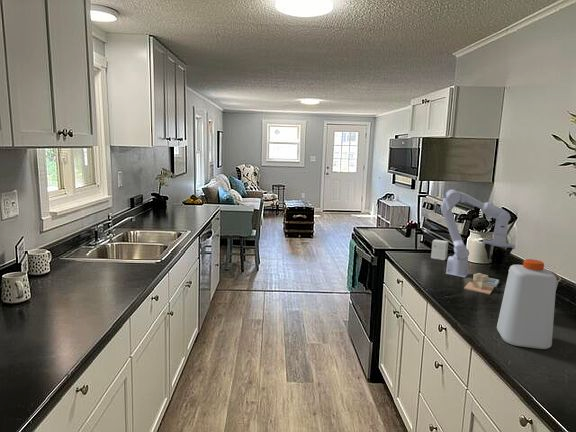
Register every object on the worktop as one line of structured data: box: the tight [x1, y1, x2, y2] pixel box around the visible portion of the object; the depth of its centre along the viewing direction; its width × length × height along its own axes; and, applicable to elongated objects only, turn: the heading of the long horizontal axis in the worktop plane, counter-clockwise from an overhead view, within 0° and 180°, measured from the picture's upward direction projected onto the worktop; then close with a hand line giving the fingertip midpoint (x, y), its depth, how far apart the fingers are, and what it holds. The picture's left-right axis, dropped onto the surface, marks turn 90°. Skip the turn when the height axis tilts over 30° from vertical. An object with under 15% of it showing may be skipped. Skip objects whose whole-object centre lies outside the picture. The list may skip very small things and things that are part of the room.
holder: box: [487, 277, 500, 288], centre depth 204 cm, size 8×8×2 cm
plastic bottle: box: [496, 258, 557, 350], centre depth 143 cm, size 15×15×28 cm
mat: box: [463, 281, 495, 295], centre depth 195 cm, size 11×11×1 cm
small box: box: [430, 239, 449, 261], centre depth 244 cm, size 8×6×10 cm
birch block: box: [472, 272, 489, 289], centre depth 195 cm, size 4×4×6 cm
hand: (496, 260), depth 210 cm, fingers open, 7 cm apart
